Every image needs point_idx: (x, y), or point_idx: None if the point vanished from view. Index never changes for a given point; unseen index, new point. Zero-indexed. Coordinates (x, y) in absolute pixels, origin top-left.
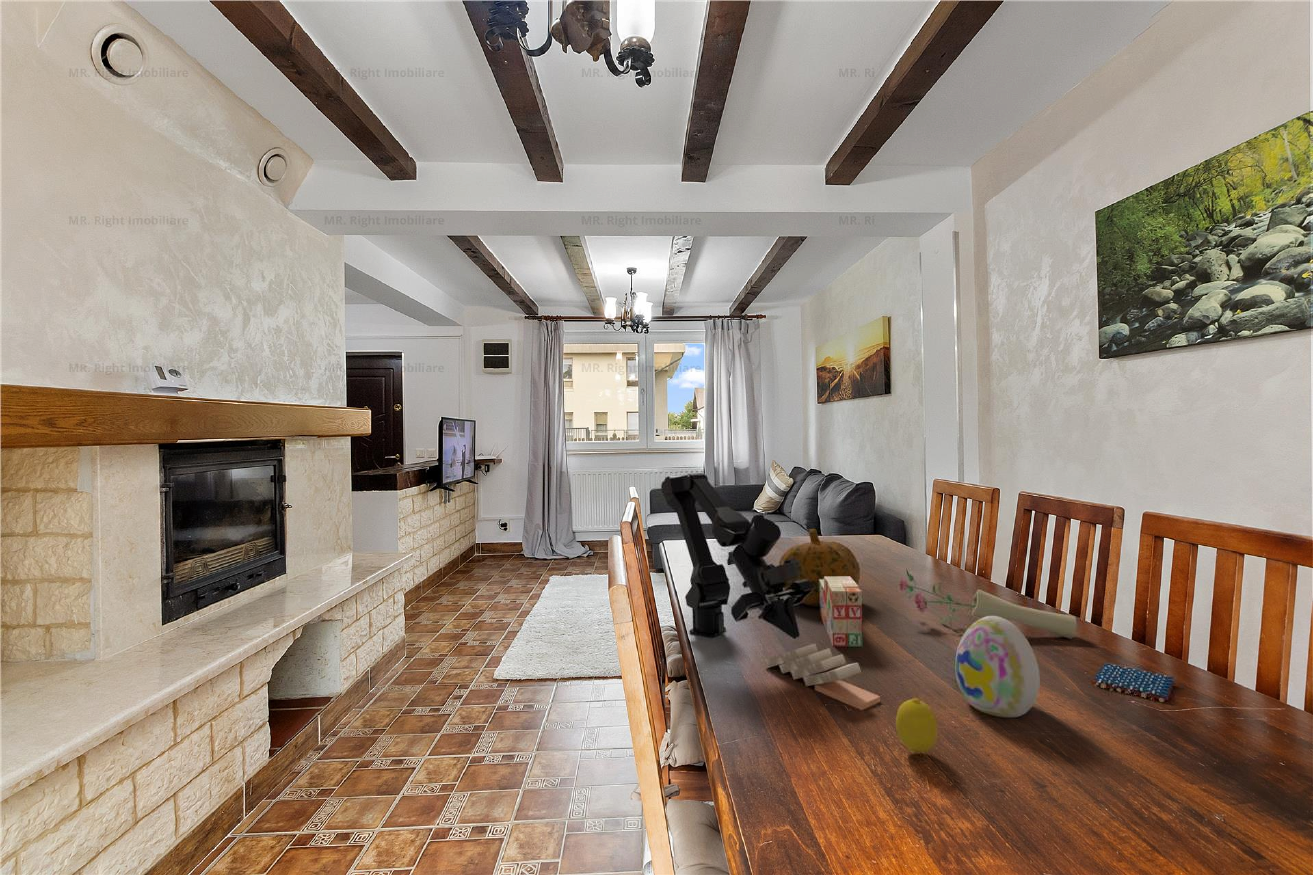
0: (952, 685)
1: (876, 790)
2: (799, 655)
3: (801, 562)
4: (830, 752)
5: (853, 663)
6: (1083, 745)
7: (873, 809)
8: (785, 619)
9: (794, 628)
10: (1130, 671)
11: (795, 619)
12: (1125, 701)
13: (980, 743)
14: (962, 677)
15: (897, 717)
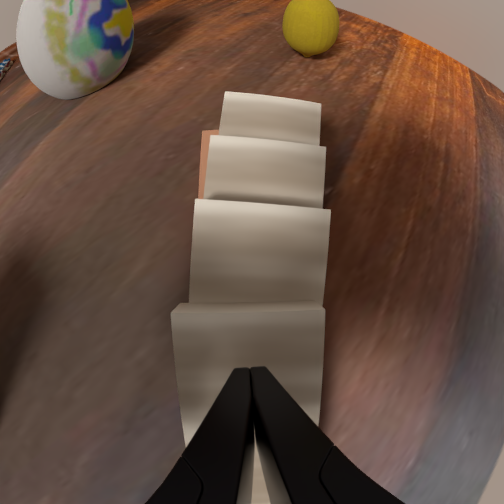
0: (45, 133)
1: (399, 62)
2: (310, 303)
3: None
4: (414, 107)
5: (227, 106)
6: (138, 26)
7: (416, 59)
8: (336, 454)
9: (260, 396)
10: None
11: (194, 444)
12: (20, 67)
13: (213, 42)
14: (116, 37)
15: (336, 23)
